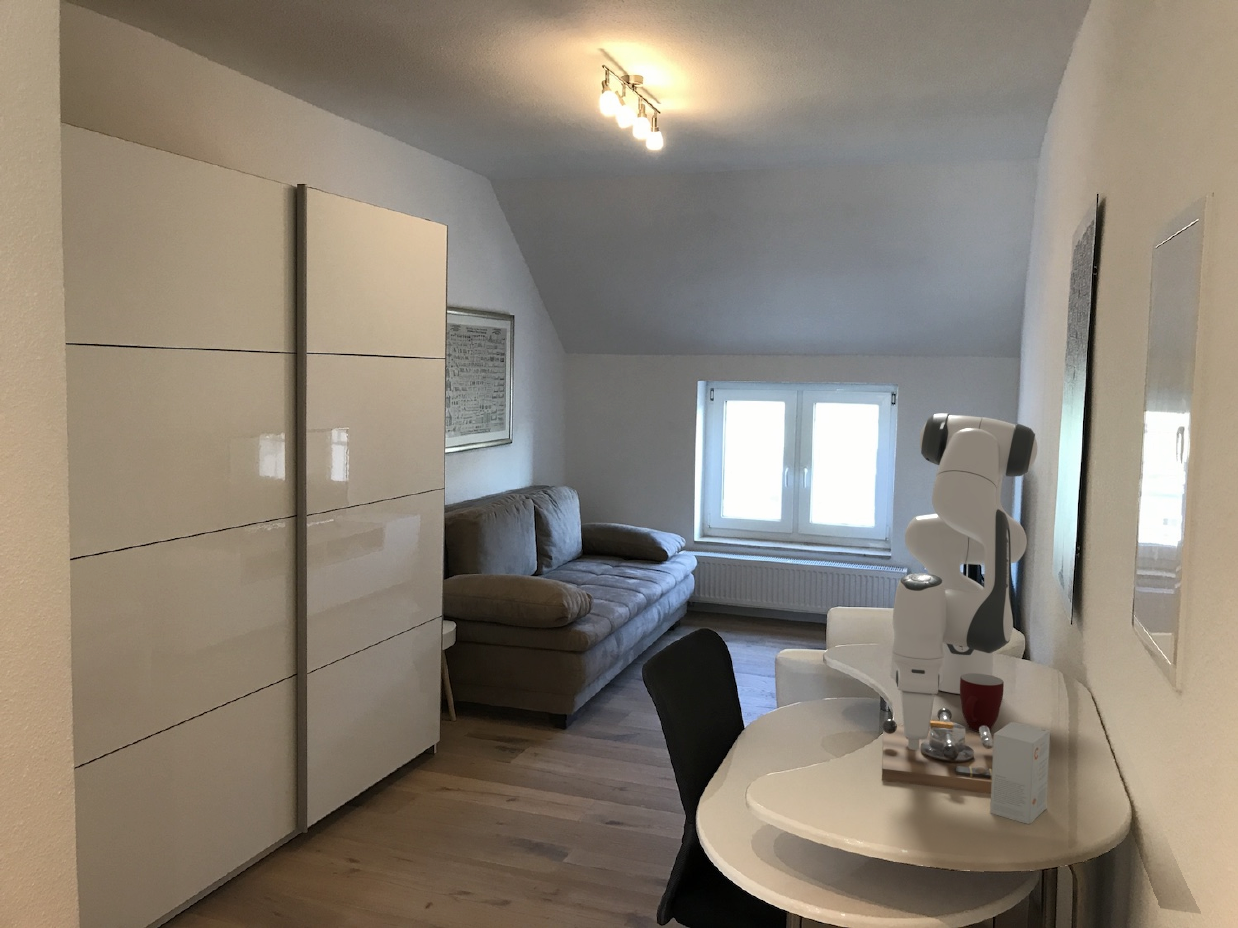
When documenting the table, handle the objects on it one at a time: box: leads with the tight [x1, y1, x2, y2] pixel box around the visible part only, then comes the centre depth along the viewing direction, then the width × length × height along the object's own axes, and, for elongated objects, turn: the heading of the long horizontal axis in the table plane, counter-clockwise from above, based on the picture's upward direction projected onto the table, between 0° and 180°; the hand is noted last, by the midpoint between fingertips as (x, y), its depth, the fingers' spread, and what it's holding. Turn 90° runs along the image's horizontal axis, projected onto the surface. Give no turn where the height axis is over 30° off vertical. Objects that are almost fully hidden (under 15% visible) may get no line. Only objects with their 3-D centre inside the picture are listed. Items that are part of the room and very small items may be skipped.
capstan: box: [881, 707, 993, 763], centre depth 177 cm, size 23×23×5 cm
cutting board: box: [881, 724, 994, 794], centre depth 178 cm, size 24×22×4 cm
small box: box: [989, 721, 1051, 825], centre depth 157 cm, size 8×6×13 cm
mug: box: [959, 673, 1005, 733], centre depth 195 cm, size 11×8×10 cm
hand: (913, 746), depth 172 cm, fingers closed
